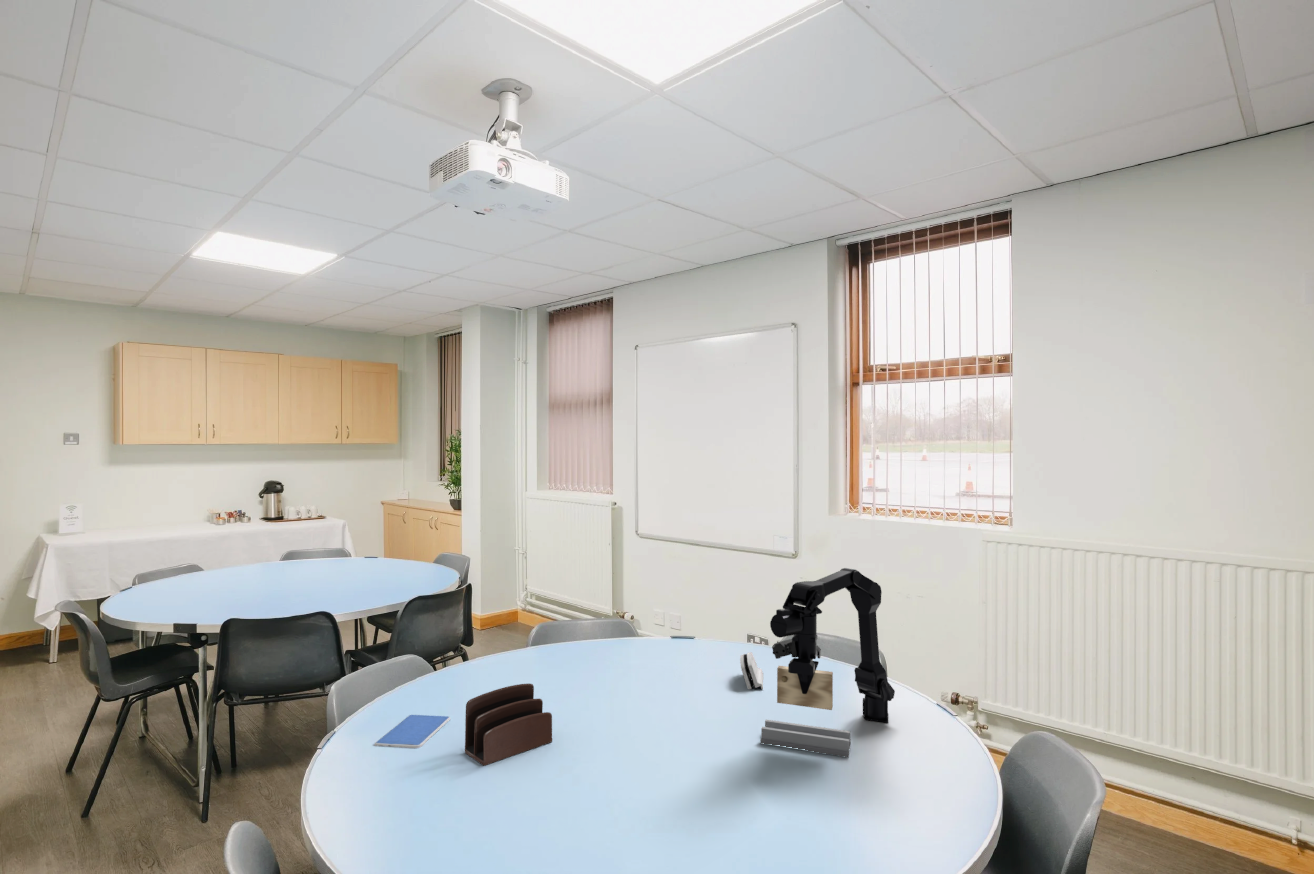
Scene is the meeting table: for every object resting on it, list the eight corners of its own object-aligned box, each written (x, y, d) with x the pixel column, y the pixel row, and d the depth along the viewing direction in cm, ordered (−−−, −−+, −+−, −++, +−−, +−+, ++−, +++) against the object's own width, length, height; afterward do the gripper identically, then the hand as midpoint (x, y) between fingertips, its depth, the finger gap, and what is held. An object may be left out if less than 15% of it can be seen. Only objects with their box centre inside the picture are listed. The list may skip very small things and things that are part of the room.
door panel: (832, 706, 169) (832, 671, 170) (831, 711, 166) (831, 675, 167) (778, 699, 174) (778, 665, 175) (776, 703, 171) (776, 668, 172)
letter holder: (463, 753, 163) (464, 696, 164) (531, 731, 177) (532, 678, 177) (483, 767, 156) (484, 707, 156) (552, 742, 170) (553, 688, 170)
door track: (850, 742, 170) (850, 729, 171) (848, 757, 162) (848, 743, 162) (766, 730, 178) (766, 717, 178) (760, 743, 169) (760, 730, 170)
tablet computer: (419, 750, 165) (419, 745, 165) (372, 747, 167) (372, 742, 167) (451, 720, 185) (451, 715, 185) (409, 718, 186) (409, 713, 186)
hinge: (763, 690, 210) (753, 660, 211) (749, 694, 210) (739, 664, 211) (763, 673, 226) (753, 645, 227) (750, 677, 227) (740, 649, 228)
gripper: (780, 621, 183) (780, 677, 182) (768, 637, 165) (768, 699, 165) (821, 625, 179) (821, 682, 178) (813, 641, 162) (812, 705, 161)
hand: (805, 692), depth 171 cm, fingers closed on door panel, 2 cm apart
